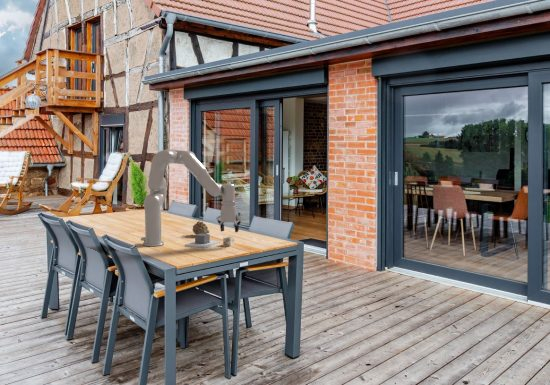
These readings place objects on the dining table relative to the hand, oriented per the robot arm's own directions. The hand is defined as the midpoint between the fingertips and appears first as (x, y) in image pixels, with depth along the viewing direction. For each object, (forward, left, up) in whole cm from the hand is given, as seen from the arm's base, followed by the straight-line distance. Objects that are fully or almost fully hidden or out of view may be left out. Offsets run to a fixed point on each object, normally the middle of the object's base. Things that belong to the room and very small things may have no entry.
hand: (229, 231), depth 297 cm
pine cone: (-30, +19, -9) cm, 36 cm away
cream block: (-1, 0, -9) cm, 9 cm away
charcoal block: (-17, -4, -7) cm, 19 cm away
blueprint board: (-17, -4, -9) cm, 19 cm away
